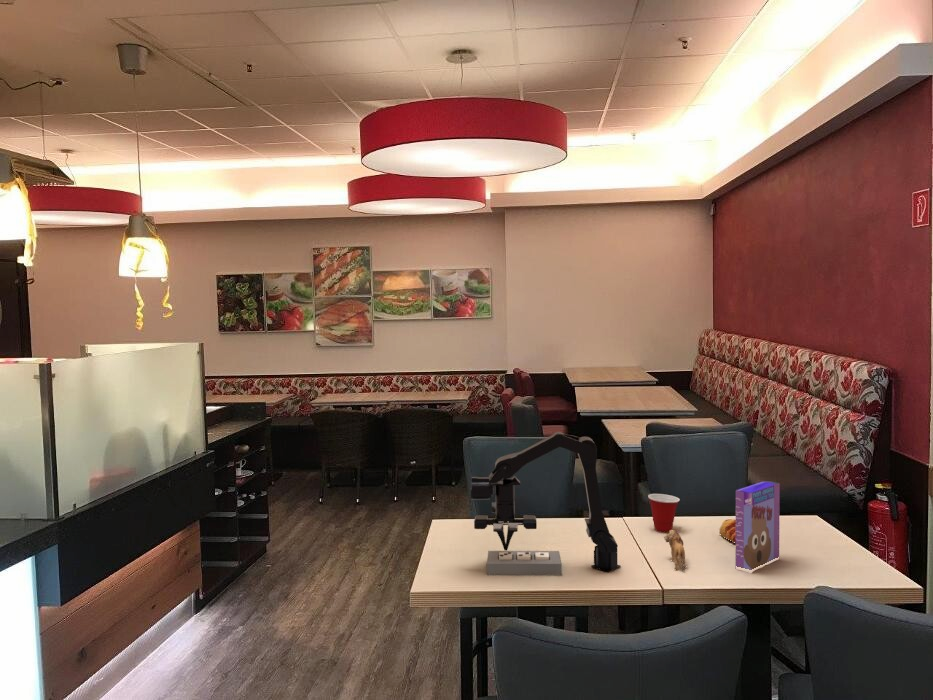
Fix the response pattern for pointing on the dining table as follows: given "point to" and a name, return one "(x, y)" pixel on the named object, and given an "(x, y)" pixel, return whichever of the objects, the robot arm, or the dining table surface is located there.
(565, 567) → the dining table surface
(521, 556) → the tile two
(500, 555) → the tile three
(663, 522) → the plastic cup
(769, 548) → the cereal box
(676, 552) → the lion figurine
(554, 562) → the tile board
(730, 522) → the croissant
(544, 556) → the tile one
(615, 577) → the dining table surface
